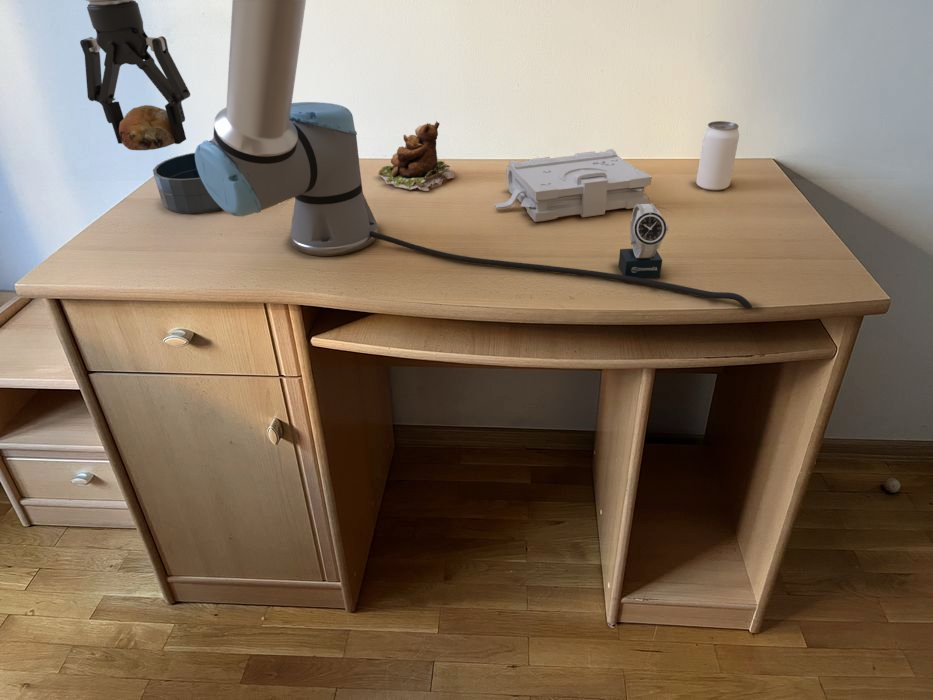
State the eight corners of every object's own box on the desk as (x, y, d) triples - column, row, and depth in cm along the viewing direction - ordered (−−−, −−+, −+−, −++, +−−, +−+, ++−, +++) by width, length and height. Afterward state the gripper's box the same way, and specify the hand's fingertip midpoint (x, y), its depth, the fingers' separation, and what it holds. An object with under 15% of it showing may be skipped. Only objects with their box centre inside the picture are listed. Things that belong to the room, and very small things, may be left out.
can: (731, 191, 133) (743, 130, 126) (697, 190, 134) (708, 129, 127) (726, 180, 138) (737, 120, 132) (693, 179, 139) (703, 120, 132)
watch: (627, 285, 103) (635, 218, 97) (615, 261, 110) (622, 197, 104) (663, 283, 103) (674, 216, 97) (649, 260, 110) (658, 195, 104)
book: (481, 192, 137) (480, 155, 132) (608, 176, 142) (611, 140, 138) (510, 230, 121) (510, 189, 117) (652, 210, 127) (657, 170, 122)
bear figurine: (414, 163, 153) (410, 108, 146) (464, 176, 144) (462, 119, 138) (369, 180, 144) (363, 122, 138) (419, 196, 136) (415, 135, 129)
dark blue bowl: (265, 197, 138) (258, 163, 134) (183, 221, 129) (173, 186, 125) (227, 177, 149) (220, 145, 145) (150, 198, 140) (140, 165, 136)
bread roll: (192, 156, 124) (190, 110, 122) (163, 148, 114) (160, 99, 112) (141, 156, 125) (138, 111, 123) (107, 148, 114) (103, 99, 113)
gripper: (189, -4, 109) (221, 135, 121) (60, -1, 111) (105, 134, 124) (166, 3, 102) (203, 148, 115) (30, 5, 105) (81, 147, 117)
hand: (152, 141), depth 119 cm, fingers closed on bread roll, 10 cm apart
